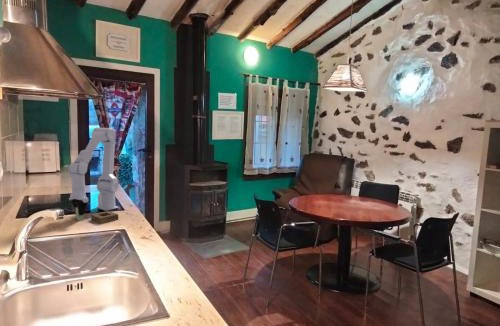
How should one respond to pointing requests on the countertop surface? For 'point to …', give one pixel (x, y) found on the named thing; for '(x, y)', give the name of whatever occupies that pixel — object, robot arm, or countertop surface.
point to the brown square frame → (104, 217)
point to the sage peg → (79, 217)
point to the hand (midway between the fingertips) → (80, 214)
